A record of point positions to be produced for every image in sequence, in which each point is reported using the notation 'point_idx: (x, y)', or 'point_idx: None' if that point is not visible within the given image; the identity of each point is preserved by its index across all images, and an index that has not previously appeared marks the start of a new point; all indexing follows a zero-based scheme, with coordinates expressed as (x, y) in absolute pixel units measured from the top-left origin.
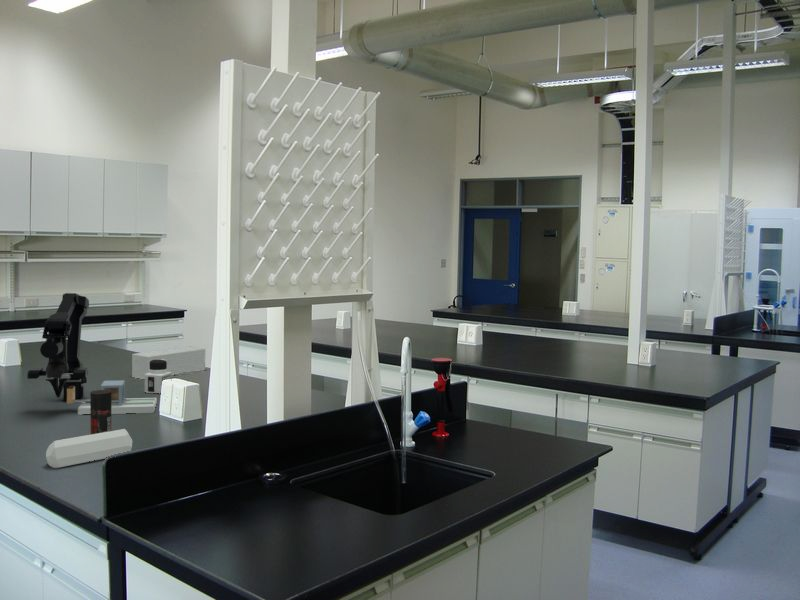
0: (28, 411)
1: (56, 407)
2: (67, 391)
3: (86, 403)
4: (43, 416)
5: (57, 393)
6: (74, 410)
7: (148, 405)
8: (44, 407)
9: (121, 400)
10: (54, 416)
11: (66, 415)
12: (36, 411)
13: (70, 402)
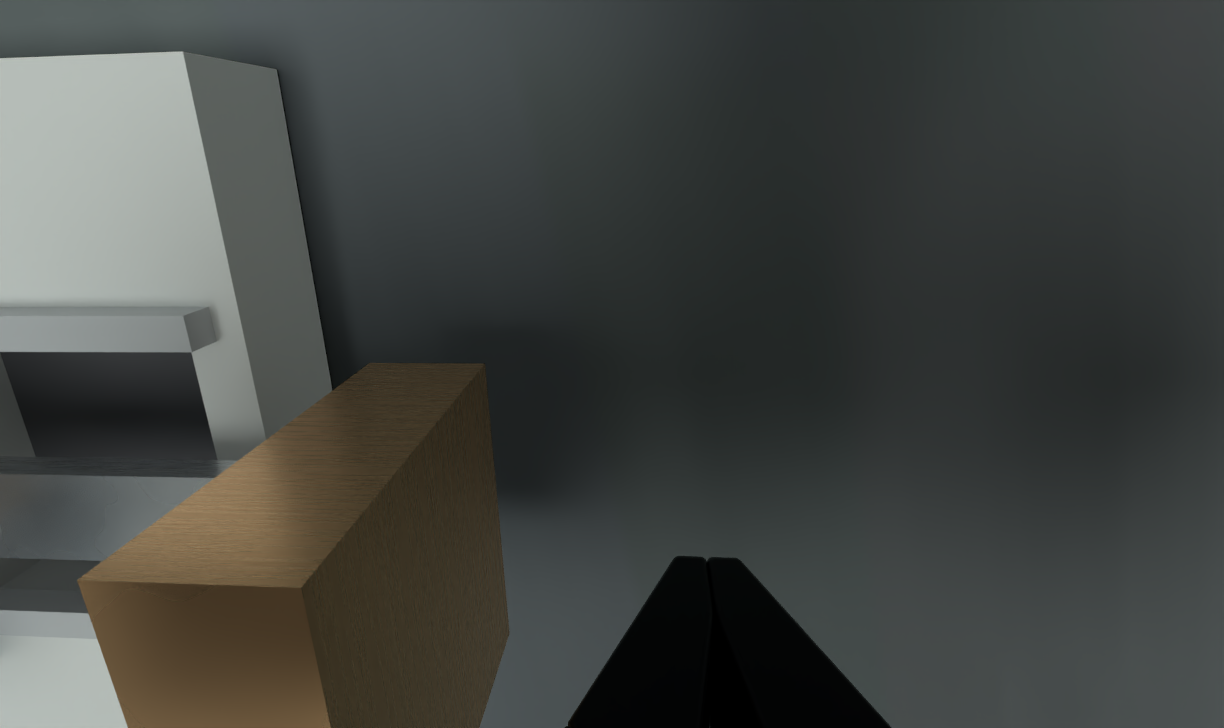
0: (1192, 464)
1: None
2: (339, 520)
3: None
4: (903, 25)
5: (727, 612)
6: None
7: None
8: (940, 678)
9: None
10: (687, 3)
11: (480, 72)
12: (1054, 447)
13: (405, 372)
